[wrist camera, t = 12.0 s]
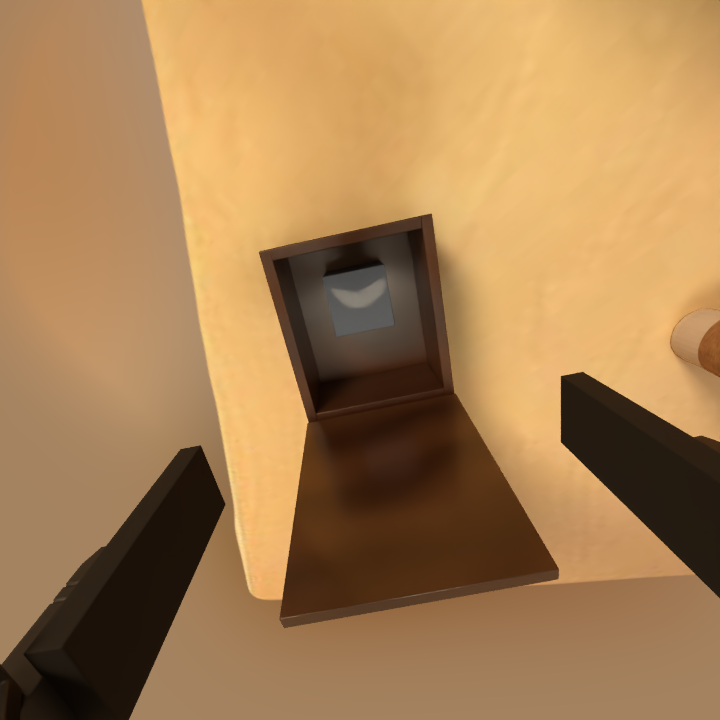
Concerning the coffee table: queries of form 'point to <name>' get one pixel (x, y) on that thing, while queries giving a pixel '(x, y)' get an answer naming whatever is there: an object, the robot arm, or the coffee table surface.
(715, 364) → the coffee cup
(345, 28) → the coffee table surface
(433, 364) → the chest
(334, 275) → the block
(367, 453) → the lid
